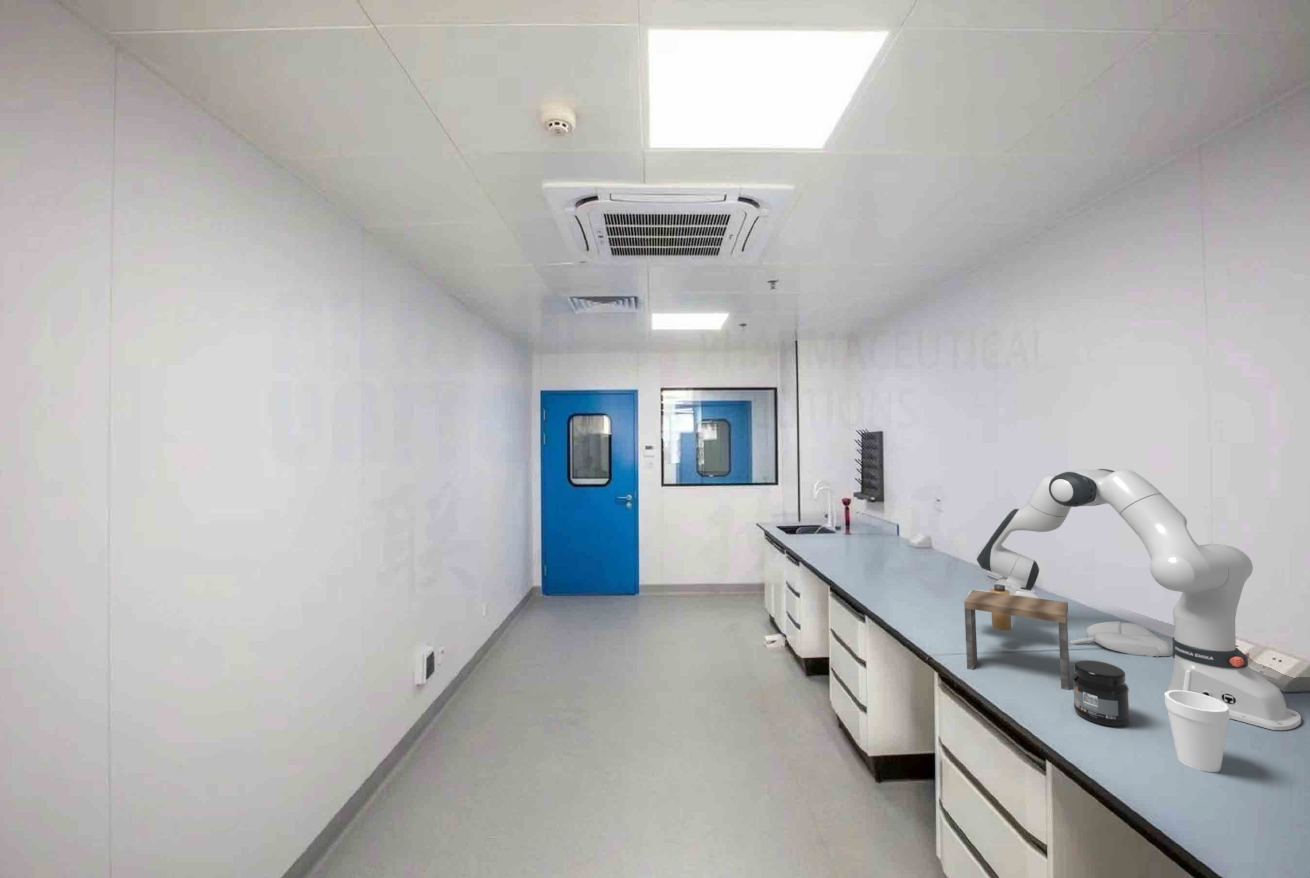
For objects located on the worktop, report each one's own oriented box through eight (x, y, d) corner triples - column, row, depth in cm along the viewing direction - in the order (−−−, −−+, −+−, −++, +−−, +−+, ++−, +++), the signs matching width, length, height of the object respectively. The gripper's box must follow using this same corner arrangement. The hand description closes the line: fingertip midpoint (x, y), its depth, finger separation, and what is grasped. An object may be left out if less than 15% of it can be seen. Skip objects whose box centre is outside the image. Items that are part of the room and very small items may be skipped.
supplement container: (1120, 710, 133) (1118, 662, 133) (1137, 732, 123) (1135, 680, 123) (1068, 703, 137) (1066, 656, 137) (1081, 723, 128) (1078, 673, 128)
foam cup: (1197, 748, 116) (1194, 689, 116) (1245, 775, 107) (1242, 710, 107) (1155, 751, 116) (1152, 691, 116) (1199, 778, 107) (1196, 713, 107)
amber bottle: (1014, 628, 172) (1012, 586, 172) (1004, 631, 170) (1002, 588, 170) (998, 623, 176) (996, 582, 177) (988, 626, 174) (986, 584, 174)
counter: (1070, 671, 155) (1067, 602, 155) (1068, 689, 144) (1065, 615, 144) (975, 652, 170) (972, 590, 170) (967, 668, 159) (964, 601, 160)
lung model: (1181, 658, 160) (1087, 662, 165) (1141, 638, 177) (1057, 642, 182) (1177, 636, 161) (1083, 641, 166) (1138, 618, 178) (1054, 623, 182)
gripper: (970, 583, 190) (963, 592, 179) (1041, 590, 177) (1037, 601, 166) (971, 600, 190) (964, 611, 179) (1042, 609, 177) (1038, 621, 166)
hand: (1000, 606), depth 172 cm, fingers closed on amber bottle, 5 cm apart
